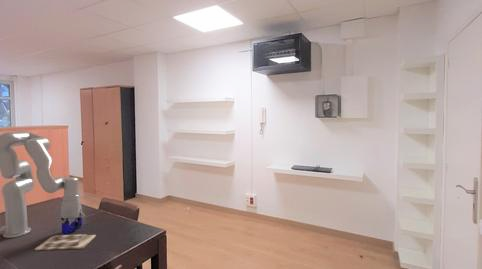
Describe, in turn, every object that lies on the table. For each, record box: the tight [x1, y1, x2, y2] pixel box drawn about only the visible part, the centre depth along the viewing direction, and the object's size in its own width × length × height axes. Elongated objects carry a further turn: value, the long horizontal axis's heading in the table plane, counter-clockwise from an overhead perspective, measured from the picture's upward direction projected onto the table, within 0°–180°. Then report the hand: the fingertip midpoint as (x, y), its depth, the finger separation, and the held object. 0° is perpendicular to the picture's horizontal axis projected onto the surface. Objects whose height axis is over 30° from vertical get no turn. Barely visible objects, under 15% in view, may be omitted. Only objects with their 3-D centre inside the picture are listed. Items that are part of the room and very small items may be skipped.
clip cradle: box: [34, 233, 97, 251], centre depth 143 cm, size 24×14×2 cm, turn 95°
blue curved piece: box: [61, 215, 83, 235], centre depth 158 cm, size 12×4×6 cm, turn 172°
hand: (71, 227), depth 159 cm, fingers closed on blue curved piece, 5 cm apart
